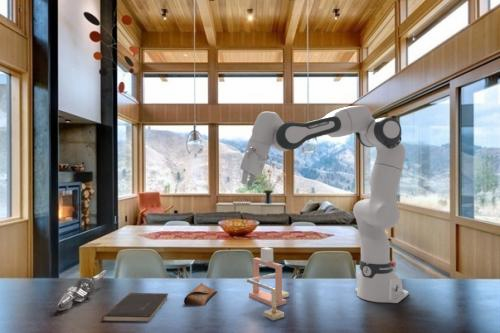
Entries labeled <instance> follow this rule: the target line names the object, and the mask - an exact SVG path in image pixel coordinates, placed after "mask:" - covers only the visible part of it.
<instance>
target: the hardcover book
mask: <svg viewBox="0 0 500 333" xmlns="http://www.w3.org/2000/svg"><path fill="white" fill-rule="evenodd" d="M168 295H169V293H168V292H167V293H166V292H165V293H162V292H161V293H158V292H154V293H153V292H150V293H149V292H148V293H147V292H130V293H128V294H127V295H126V296H124V298H122V299H121V300H119V302H117V303H116V304H115V305H114V306H112V308H111V309H110V310H108V311H107V312H105V314H103V315H102V317H101V318H102V321H103V322H104V321H114V322H115V321H117V322H118V321H120V322H125V321H126V322H149V321H150V320H151V319H152V318H153V317H154V315H155V314H156V313H157V312H158V310H159V309H160V308H161V306H162V305H163V304H164V303H165V302H166V301H167V299H168Z"/></svg>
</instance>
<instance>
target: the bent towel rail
mask: <svg viewBox="0 0 500 333" xmlns="http://www.w3.org/2000/svg"><path fill="white" fill-rule="evenodd" d="M274 277H275V272H274V273H268V274H264V275H259V277H255V278H253V277H251V278H247V279H246V282H247V283H249V284H251V285H253V284H254V285H256V286H259V288H262V289H265V290H268V291H270V294H272V306H271V309H267V310H264V311H263V317H265V318H267V319H269V320H271V321H276V320H279V319H282V318H284V317H285V312H284V311H281V310H279V309H277V307H276V288H275V287H272V286H270V285H267V284H264V283H261V282H260V281H262V280H266V279H269V278H274ZM258 280H259V282H257V281H258ZM289 293H290V292H288V291H284V290H283V289H282V298H283V299H285V298H288V297H290V294H289Z"/></svg>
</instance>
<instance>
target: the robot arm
mask: <svg viewBox="0 0 500 333" xmlns="http://www.w3.org/2000/svg"><path fill="white" fill-rule="evenodd" d="M352 134H355V136H356V138H357V141H358V142H359V144H360V145H362V146H363V147H367V148H375V150H376V157H375V161H374V163H373V166H372V171H371V172H370V177H369V183H368V184H369V186H370V196H369V198H363V199H361V200H358V201H357V202H356V203H355V204H354V206H353V210H352V213H353V214H352V215H353V216H354V218H355V220H356V224H357V230H358V234H359V240H360V260H359V269H360V270H359V271H358V273H357V282H356V287H355V288H354V292H355V293H356V296H358V298H360V299H362V300H365V301H368V302H374V303H391V304H399V302H401V301H402V300H403V299H405V298H406V297H407V296H408V295H409V294H410V293H409V291H408V290H406V289H404V288H403V282H402V279H401V278H400V276H398V274H396V273H395V272H394V271H393V267H394V268H395V267H396V261H391V259H390V258H391V255H390V254H391V249H390V247H391V246H390V244H391V243H390V241H389V239H388V236H387V235H386V231H385V230H386V229H392V228H394V227H395V226H397V224H398V223H399V221H400V219H401V216H400V215H401V214H400V213H401V212H400V211H399V208H398V204H397V200H398V199H397V197H398V189H399V188H398V187H399V183H400V180H401V177H402V176H401V175H402V172H403V169H404V164H405V158H406V148H405V147H404V145H403V144H401V141H402V126H401V123H400V122H399V120H397V119H396V118H394V117H390V116H383V117H381V118H376V119H375V118H374V117H373V114H372V111H371V109H370V108H369V107H368V106H366V105H363V104H361V105H350V106H346V107H342V108H339V109H335V110H332V111H331V112H329V113H327V114H325V116H323V117H322V118H319V119H315V120H312V121H307V122H304V123H302V122H294V121H288V122H284V121H283V120H282V119H281V117H280V116H279V114H278V113H277V112H274V111H270V110H268V111H265V110H264V111H262V112H260V113H259V114H258V115H257V117H256V119H255V122H254V124H253V126H252V129H251V136H250V138H249V139H248V141H247V144H246V149H245V153H244V155H243V158H242V160H241V164H240V168H239V169H240V170H241V171H243V172H242V175H241V176H242V178H241V181H240V183H241V184H242V185H246V186H248V187H250V188H251V187H253V184H254V182H255V180H256V178H260V177H261V176H262V173H263V170H264V168H265V165H266V162H268V160H269V153H270V150H271V148H274V149H276V150H278V151H280V152H288V151H292V150H293V151H294V150H295V149H298V148H300V147H301V146H302V145H303V144H304V143H305V142H307V141H309V140H311V139H315V138H319V137H324V136H329V137H330V138H340V137H344V136H345V137H346V136H349V135H352ZM248 179H249V180H248Z"/></svg>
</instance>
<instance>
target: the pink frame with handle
mask: <svg viewBox="0 0 500 333" xmlns="http://www.w3.org/2000/svg"><path fill="white" fill-rule="evenodd" d="M260 265H262V266H265V267H267V268H271V269H274V270H275V271H274V273H275V278H274V279H275V286H274V288H276V308H277V307H279V306H283V305H286V304H287V300H286V299H285V298H282V290H283V264H281V263H278V262H275V261H274V248H271V247H269V246H267V247H266V246H265V247H260V257H254V258H252V278H255V277H259V276H260ZM257 282H259V283H260V280H258V281H257ZM248 297H250V298H252V299H255V300H256V301H259V302H261V303H264V304H265V305H267V306H268V305H269V306H271V307H272V294H271V292H270V293H269V292H267V291H264V290H263V289H260V287H259V286H256V285H254V284H252V291H249V292H248Z"/></svg>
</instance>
